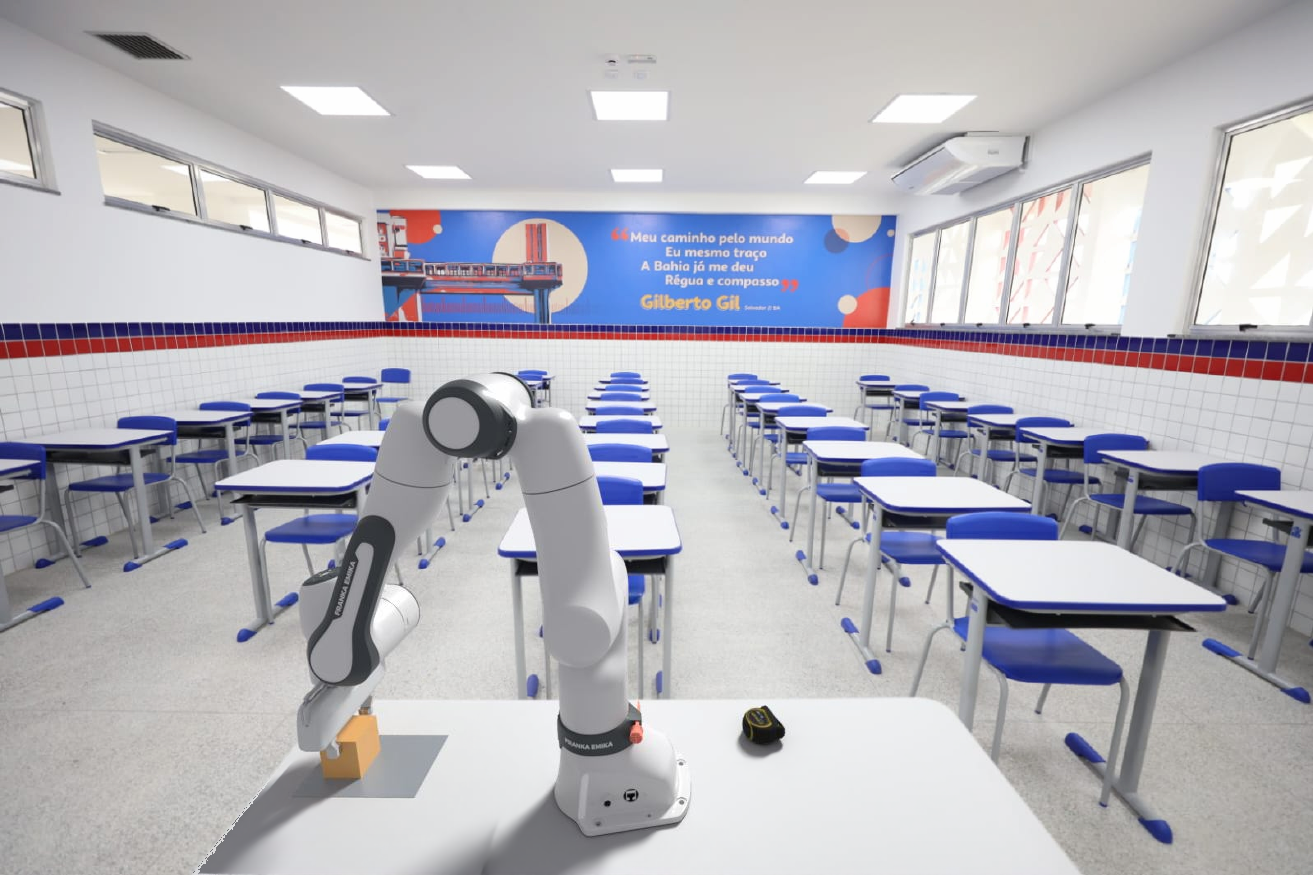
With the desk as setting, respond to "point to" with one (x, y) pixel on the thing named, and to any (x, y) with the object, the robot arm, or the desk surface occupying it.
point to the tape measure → (762, 725)
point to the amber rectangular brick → (353, 748)
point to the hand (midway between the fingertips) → (351, 735)
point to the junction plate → (383, 770)
